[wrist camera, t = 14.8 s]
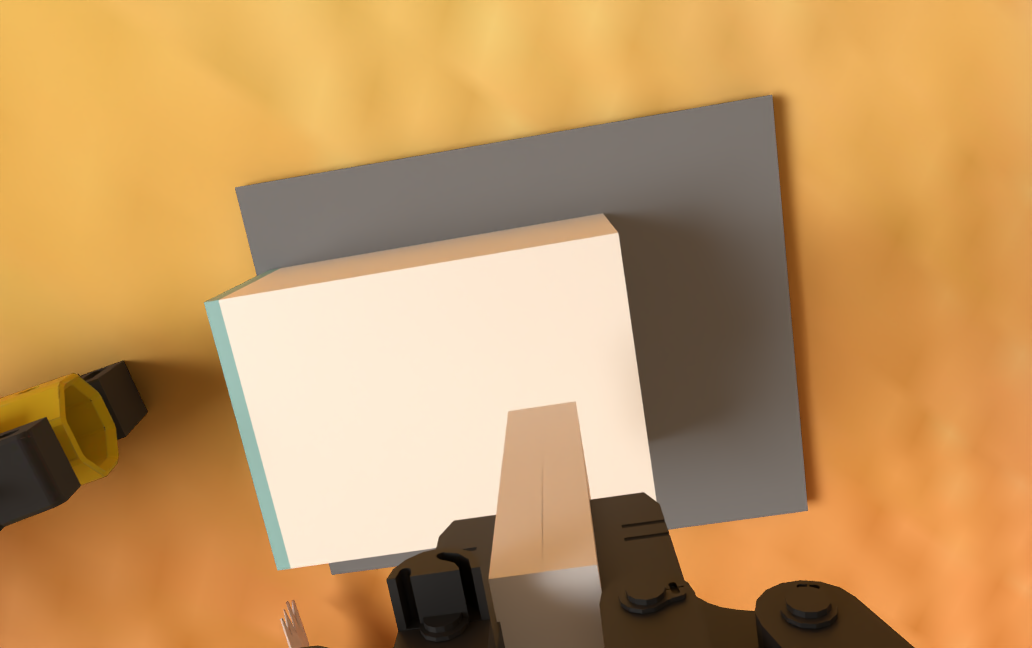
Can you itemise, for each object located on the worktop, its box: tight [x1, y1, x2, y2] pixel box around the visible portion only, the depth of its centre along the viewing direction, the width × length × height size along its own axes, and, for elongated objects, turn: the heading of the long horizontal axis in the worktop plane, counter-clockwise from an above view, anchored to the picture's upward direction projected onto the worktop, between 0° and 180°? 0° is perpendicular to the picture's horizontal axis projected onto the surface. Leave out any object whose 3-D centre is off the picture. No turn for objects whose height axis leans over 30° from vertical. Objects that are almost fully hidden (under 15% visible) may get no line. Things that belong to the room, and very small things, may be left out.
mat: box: [235, 95, 808, 575], centre depth 26 cm, size 14×17×1 cm
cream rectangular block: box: [204, 213, 657, 570], centre depth 23 cm, size 8×5×11 cm
